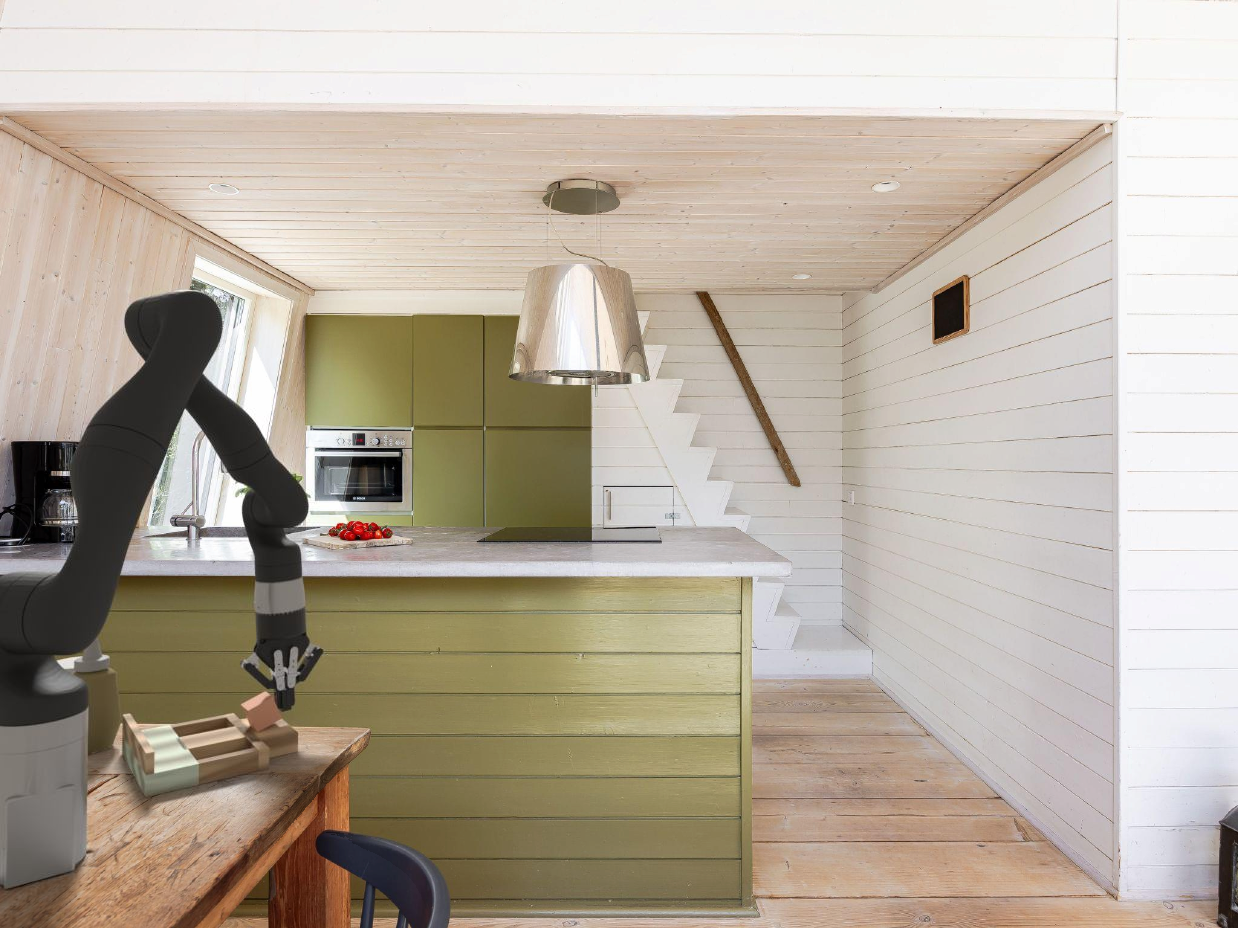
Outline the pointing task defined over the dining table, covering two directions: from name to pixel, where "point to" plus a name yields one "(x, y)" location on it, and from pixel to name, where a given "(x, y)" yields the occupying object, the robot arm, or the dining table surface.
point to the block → (261, 711)
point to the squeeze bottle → (99, 697)
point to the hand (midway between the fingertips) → (285, 709)
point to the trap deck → (201, 751)
